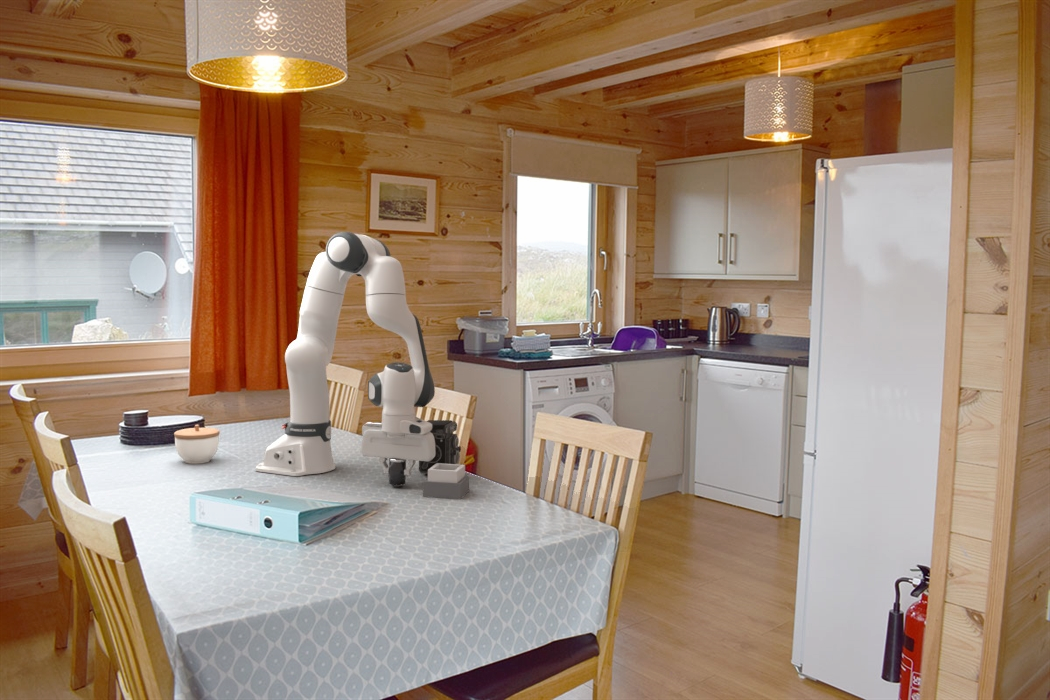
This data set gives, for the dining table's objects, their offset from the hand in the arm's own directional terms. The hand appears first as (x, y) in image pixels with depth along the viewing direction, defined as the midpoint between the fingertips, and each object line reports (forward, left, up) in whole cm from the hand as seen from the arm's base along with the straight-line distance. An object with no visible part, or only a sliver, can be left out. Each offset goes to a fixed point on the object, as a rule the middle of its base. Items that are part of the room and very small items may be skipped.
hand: (397, 474), depth 215 cm
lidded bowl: (-68, +14, -4) cm, 70 cm away
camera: (+7, +18, -4) cm, 19 cm away
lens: (0, 0, -2) cm, 2 cm away
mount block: (+15, -3, -3) cm, 15 cm away
